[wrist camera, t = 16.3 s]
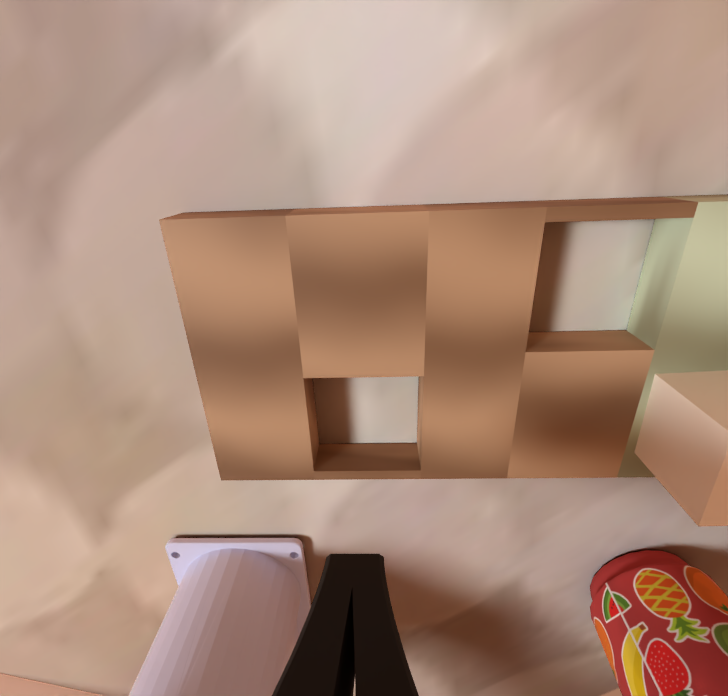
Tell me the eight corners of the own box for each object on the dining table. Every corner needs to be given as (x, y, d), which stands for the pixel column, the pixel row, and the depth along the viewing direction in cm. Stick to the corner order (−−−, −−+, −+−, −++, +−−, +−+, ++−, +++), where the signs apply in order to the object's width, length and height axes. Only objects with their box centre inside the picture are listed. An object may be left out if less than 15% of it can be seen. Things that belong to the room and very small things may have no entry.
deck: (718, 447, 20) (803, 520, 16) (234, 452, 21) (201, 522, 17) (825, 191, 15) (988, 203, 11) (183, 212, 16) (118, 231, 12)
